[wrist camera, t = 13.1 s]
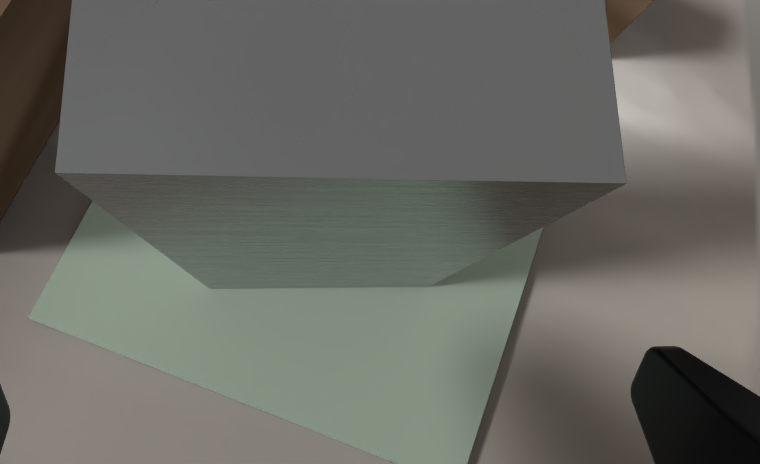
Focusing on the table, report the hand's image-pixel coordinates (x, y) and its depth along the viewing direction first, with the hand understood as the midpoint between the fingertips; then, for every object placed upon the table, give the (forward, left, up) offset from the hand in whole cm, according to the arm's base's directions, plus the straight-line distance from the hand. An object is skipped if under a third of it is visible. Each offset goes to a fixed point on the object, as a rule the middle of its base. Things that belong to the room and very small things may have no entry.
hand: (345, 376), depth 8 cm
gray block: (+2, -5, -7) cm, 9 cm away
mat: (+1, -4, -8) cm, 9 cm away
